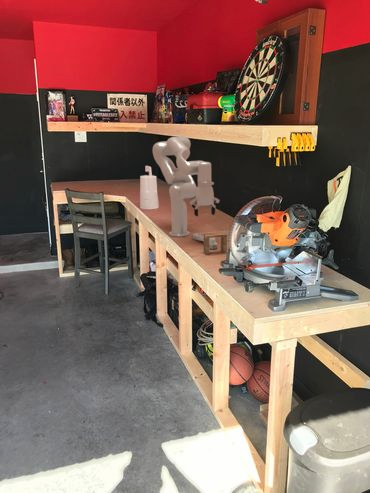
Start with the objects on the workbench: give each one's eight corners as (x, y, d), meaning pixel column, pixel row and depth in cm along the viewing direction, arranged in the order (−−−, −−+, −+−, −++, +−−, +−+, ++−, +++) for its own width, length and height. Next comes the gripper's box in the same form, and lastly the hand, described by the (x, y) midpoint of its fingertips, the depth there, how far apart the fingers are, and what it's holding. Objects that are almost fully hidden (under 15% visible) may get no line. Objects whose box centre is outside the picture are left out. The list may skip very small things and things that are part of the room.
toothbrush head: (198, 232, 255) (218, 236, 233) (199, 242, 256) (219, 248, 234) (190, 233, 253) (210, 237, 231) (191, 244, 254) (210, 249, 232)
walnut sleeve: (203, 252, 228) (203, 234, 225) (224, 250, 231) (224, 232, 228) (205, 254, 224) (205, 236, 221) (226, 252, 227) (227, 234, 224)
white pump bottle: (136, 207, 350) (134, 166, 340) (152, 204, 358) (150, 164, 349) (146, 210, 338) (144, 167, 328) (162, 207, 346) (161, 166, 337)
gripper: (216, 183, 240) (216, 212, 245) (187, 184, 236) (188, 215, 240) (221, 184, 233) (221, 215, 238) (191, 186, 229) (191, 217, 233)
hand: (204, 215), depth 239 cm, fingers open, 9 cm apart
